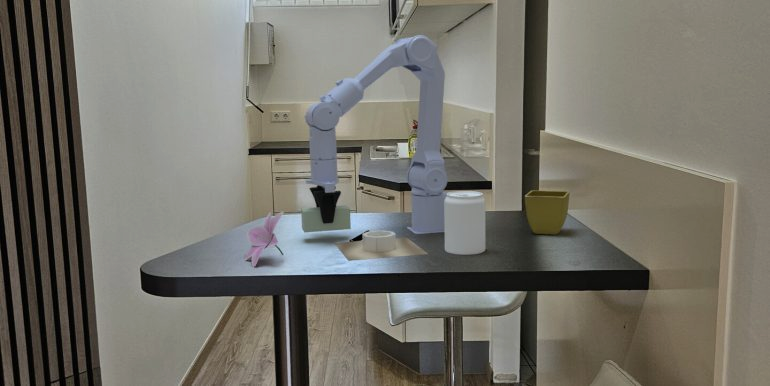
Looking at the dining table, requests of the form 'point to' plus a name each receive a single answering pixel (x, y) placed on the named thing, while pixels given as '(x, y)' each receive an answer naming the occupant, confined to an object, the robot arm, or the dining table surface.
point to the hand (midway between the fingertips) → (326, 221)
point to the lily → (262, 237)
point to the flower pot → (546, 210)
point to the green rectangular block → (315, 223)
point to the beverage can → (464, 222)
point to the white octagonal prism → (379, 241)
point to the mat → (358, 253)
